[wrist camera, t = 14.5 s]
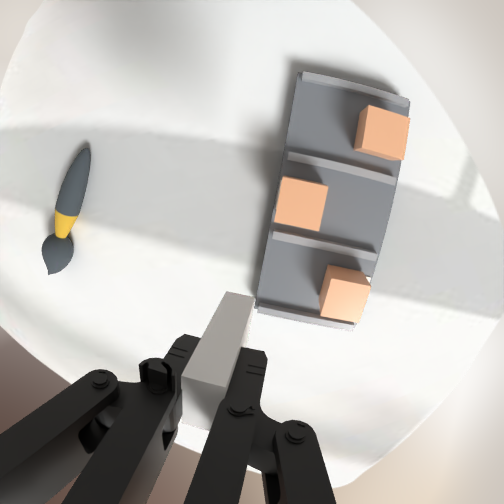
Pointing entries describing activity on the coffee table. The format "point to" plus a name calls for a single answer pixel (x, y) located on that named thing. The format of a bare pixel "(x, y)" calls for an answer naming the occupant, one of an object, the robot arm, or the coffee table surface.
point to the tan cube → (343, 294)
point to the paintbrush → (66, 214)
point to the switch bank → (328, 198)
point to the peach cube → (301, 203)
